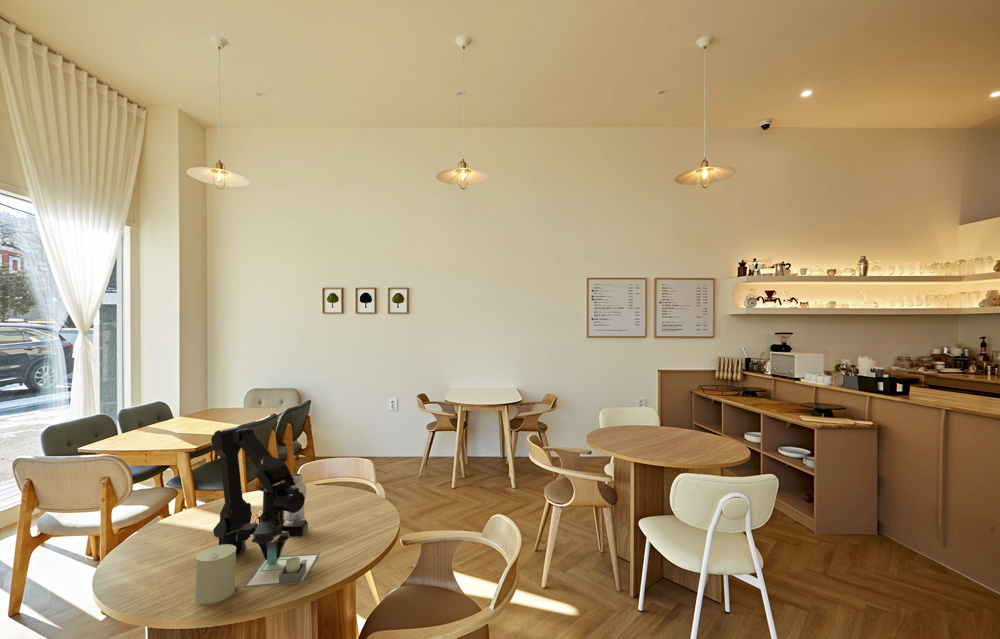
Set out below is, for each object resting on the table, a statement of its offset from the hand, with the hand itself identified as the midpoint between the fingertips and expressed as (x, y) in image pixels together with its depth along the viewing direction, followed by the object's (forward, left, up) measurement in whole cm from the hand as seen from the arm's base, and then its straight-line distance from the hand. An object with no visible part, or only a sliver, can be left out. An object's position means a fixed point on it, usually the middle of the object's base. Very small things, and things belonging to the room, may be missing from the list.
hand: (272, 558), depth 129 cm
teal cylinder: (0, 0, -1) cm, 1 cm away
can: (-9, -14, -2) cm, 17 cm away
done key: (+9, -8, 0) cm, 12 cm away
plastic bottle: (0, +23, -2) cm, 24 cm away
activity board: (+5, -4, -2) cm, 6 cm away
